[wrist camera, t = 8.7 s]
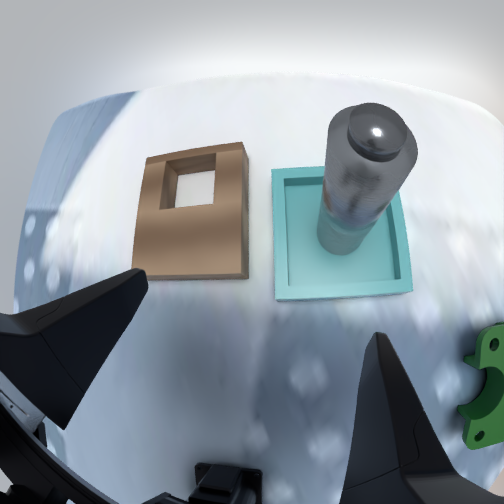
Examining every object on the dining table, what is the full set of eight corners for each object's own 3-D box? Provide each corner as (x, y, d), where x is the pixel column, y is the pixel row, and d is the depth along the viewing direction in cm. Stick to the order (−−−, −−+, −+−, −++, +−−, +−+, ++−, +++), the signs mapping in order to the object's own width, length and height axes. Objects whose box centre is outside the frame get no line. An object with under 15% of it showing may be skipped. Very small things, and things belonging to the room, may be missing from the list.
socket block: (248, 278, 24) (240, 273, 21) (147, 280, 26) (130, 275, 23) (248, 158, 27) (242, 141, 24) (159, 171, 28) (146, 157, 25)
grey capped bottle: (352, 263, 22) (416, 184, 8) (309, 243, 23) (314, 140, 9) (369, 221, 22) (430, 114, 9) (327, 202, 23) (345, 79, 10)
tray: (402, 293, 21) (413, 291, 19) (277, 301, 23) (275, 299, 21) (386, 178, 24) (392, 165, 21) (274, 182, 26) (271, 169, 23)
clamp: (452, 343, 23) (479, 309, 16) (494, 337, 20) (528, 300, 14) (448, 449, 16) (480, 454, 9) (495, 439, 13) (536, 435, 7)
